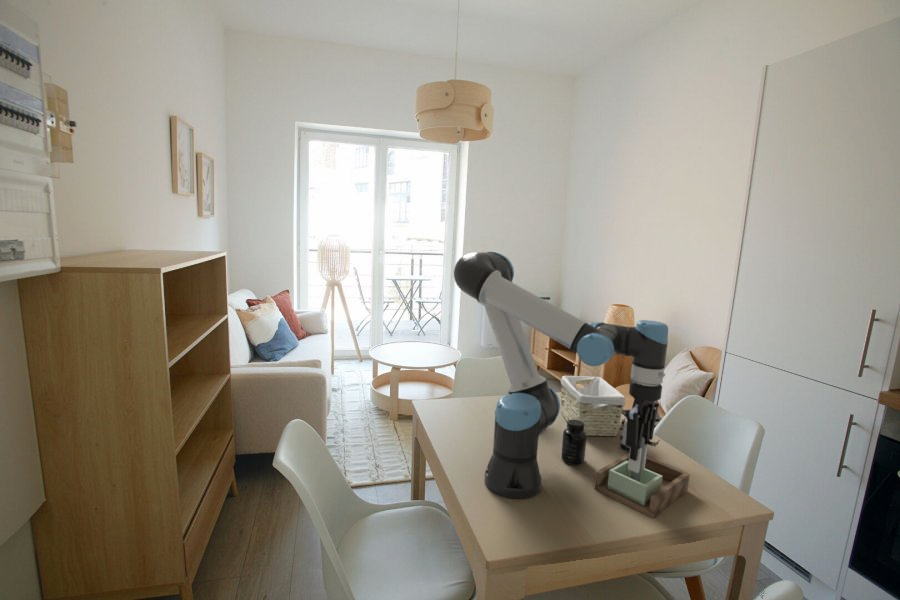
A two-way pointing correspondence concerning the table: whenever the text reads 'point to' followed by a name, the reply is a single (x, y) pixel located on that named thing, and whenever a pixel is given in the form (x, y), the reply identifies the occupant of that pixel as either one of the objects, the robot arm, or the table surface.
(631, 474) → the green box with handle
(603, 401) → the storage basket
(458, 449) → the table surface
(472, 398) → the table surface
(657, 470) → the bay
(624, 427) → the figurine
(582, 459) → the supplement bottle
